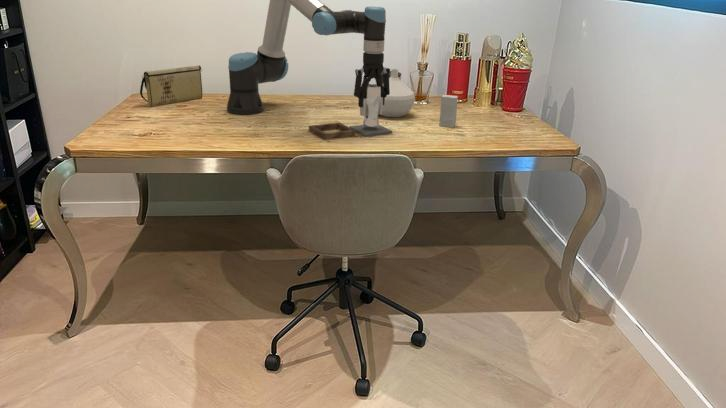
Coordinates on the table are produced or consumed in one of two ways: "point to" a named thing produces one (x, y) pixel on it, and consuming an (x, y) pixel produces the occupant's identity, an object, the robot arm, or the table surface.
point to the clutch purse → (172, 85)
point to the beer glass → (372, 105)
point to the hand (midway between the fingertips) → (371, 114)
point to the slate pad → (370, 130)
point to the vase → (397, 97)
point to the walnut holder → (332, 135)
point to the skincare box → (448, 111)
